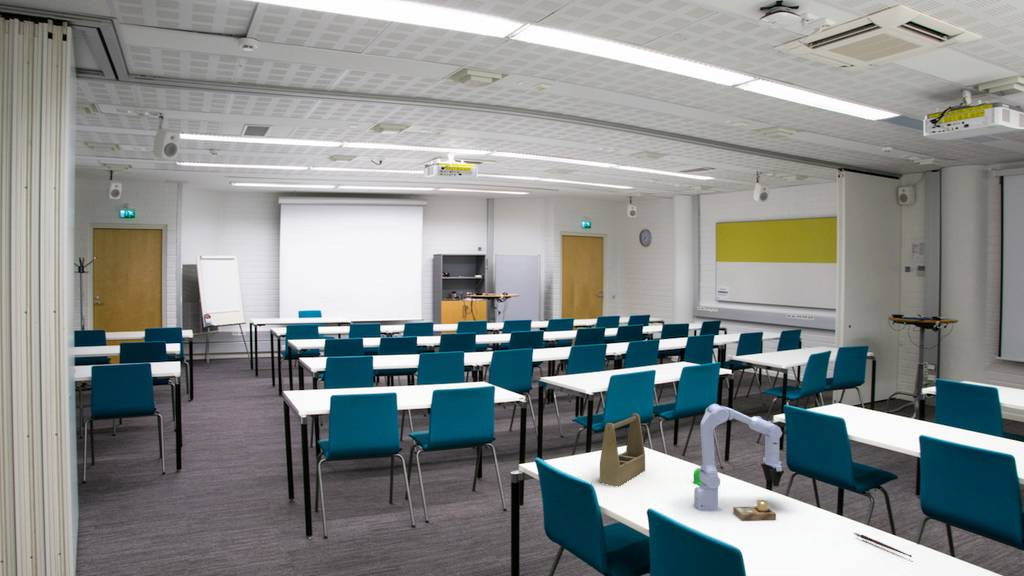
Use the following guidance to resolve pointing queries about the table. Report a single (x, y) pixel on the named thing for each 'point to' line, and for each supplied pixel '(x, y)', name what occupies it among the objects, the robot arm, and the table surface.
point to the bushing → (762, 506)
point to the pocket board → (753, 514)
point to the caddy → (627, 463)
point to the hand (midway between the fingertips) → (772, 483)
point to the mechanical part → (697, 477)
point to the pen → (879, 543)
